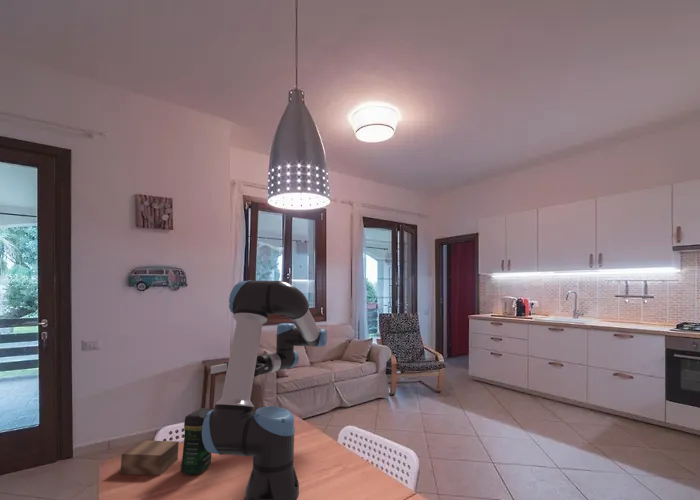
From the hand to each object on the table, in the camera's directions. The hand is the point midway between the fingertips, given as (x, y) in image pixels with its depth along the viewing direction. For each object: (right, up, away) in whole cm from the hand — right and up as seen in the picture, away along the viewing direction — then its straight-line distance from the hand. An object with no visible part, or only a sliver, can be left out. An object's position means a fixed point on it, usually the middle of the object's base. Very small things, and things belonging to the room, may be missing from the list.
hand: (221, 372), depth 136 cm
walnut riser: (-19, -27, -13) cm, 36 cm away
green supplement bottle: (-3, -27, -15) cm, 31 cm away
